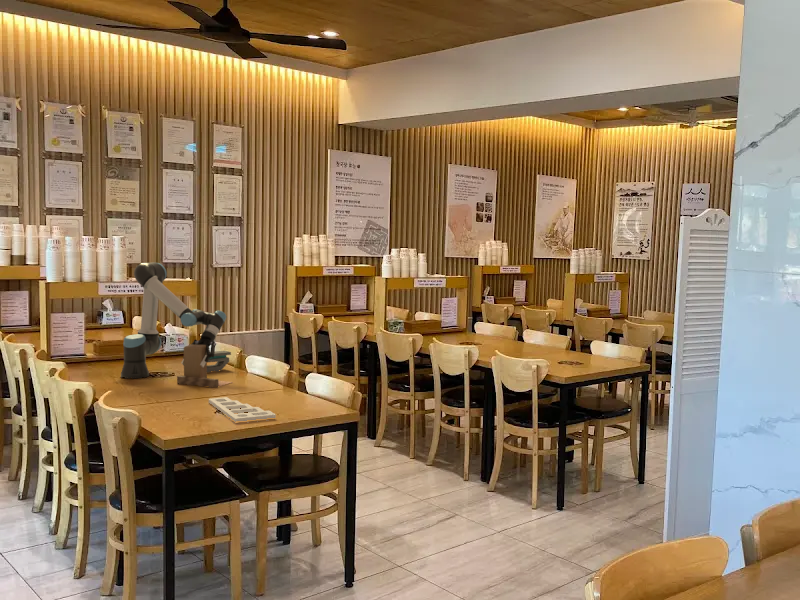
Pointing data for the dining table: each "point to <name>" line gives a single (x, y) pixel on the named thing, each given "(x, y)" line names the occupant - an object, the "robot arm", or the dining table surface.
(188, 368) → the wooden block
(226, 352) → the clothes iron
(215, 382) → the walnut straightedge
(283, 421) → the dining table surface
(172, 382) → the dining table surface
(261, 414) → the holder
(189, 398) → the dining table surface
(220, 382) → the terracotta end mark
